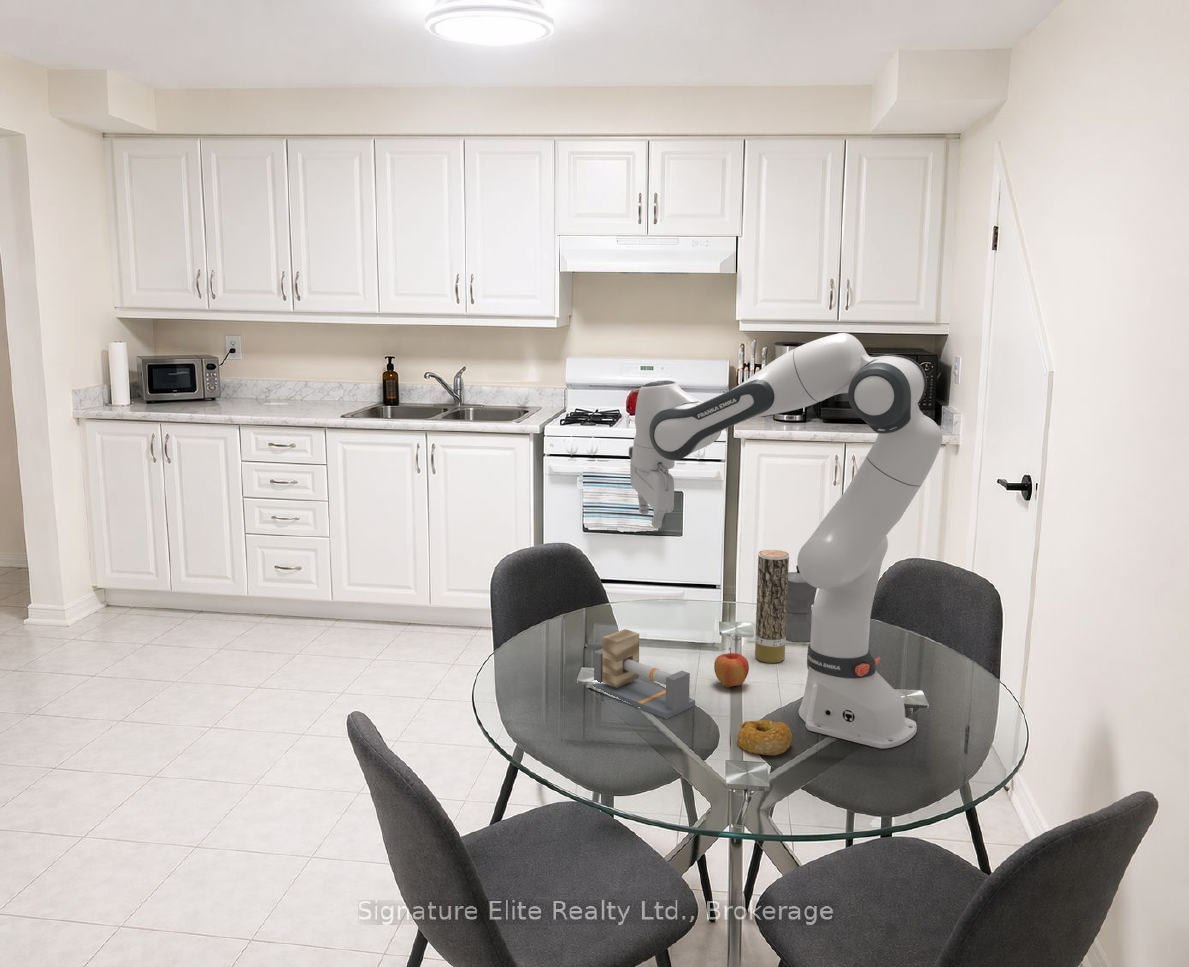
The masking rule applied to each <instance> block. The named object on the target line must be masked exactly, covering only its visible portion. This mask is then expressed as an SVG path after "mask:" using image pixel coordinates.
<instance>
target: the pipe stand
mask: <svg viewBox="0 0 1189 967" xmlns="http://www.w3.org/2000/svg"><path fill="white" fill-rule="evenodd" d="M623 670H626V671H629V672H632V673H634V674H637V675H639V677H640V676H641V677H643V678H645V679H648V680H650V681H653V682H656V683H660V684H662V685H665V688H663V687H660V686H658V685H655V684H652V683H649V682H647V681H645V680H641V679H640V678H638V679H636V680H634V681H631V682H629V683H626V684H624V685H622V686H619V687H617V688H616V687H613V686H611V685H608V684H592V685H593V686H594V687H596V688H598V689H601V690H603V691H604V692H606V693H608V694H610V695H613V696H615V697H618V698H619V699H621V700H623V701H626V702H628V703H630V704H632V705H633V706H632V705H631V706H632V707H634V706H635V707H634V708H637V707H640V708H641V709H640V710H642V709H643V710H642V711H644V710H645V711H644V712H646V713H650V714H652V715H655V716H657V717H660V718H663V719H666V720H668V719H670V718H673V717H674V716H677V715H679V714H681V713H684V712H685V711H687V710H689V709H691V708H693V707H696V700H695V699H693V698H691V697H690V687H691V684H690V683H691V682H690V681H691V680H690V678H691V676H690V675H691V673H690V672H689V671H688V672H687V671H685V670H679V671H677V672H675V673H670V672H667V671H664V670H661V669H659V668H657V667H652V666H650V665H646V664H644V663H641V662H639V663H638V662H636V661H633V660H630V659H627V658H626V659H623ZM602 677H603V648H601V649H597V650H595V651H593V680H597V681H598V682H600V683H601V682H602Z"/></svg>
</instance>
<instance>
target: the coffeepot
mask: <svg viewBox="0 0 1189 967" xmlns="http://www.w3.org/2000/svg"><path fill="white" fill-rule="evenodd" d="M817 589H818V588H815V587H813V586H811V585H810V584H808V583H807V582H806V581H805V580H804V579H803V577H802V576H801V574H800V572H799V569H798V564H797V565H796V571H788V592H787V617H786V641H789V642H795V643H805V642H806V643H807V642H810V638H811V617H812V607H813V604H814V602H815V600H816V596H817V595H816V594H817Z"/></svg>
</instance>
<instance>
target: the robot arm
mask: <svg viewBox="0 0 1189 967" xmlns="http://www.w3.org/2000/svg"><path fill="white" fill-rule="evenodd" d="M927 386H928V381H927V375H926V373H925V370H924V368H923V367H922V366H921V364H919V363H918V362H917V361H916V360H915V359H912V358H910V357H908V356H906V355H905V356H904V355H899V354H889V353H887V354H886V353H878V352H876V353H873V354H872V355H869V354H868V353H867V351H866V349H865V347H864V346H863V344H862V342H861V341H860V340H859V339H858V338H857V337H856V336H854V335H852V334H850V333H848V332H847V333H846V332H838V333H836V334H830V335H827V336H823V337H820V338H816V339H815V340H812V341H809V342H806V343H804V344H802V345H799V346H797V347H795V348H793V349H791V350H789V351H787V352H785V353H783V354H782V355H780V356H779V357H777V358H776V359H774V360H772V361H771V362H769V363H768V364H766V366H764V367H762V368H761V369H759V370H758V371H757V372H756V373H754V374H753V375H752V376H750V377H748V378H747V379H745V381H743V382H742V383H740V384H738V385H737V386H735V387H733V388H732V389H730V390H729V391H726V392H724V393H722V394H719V395H718V396H715V397H714V398H711V399H709V400H706V401H704V400H701V399H699V398H697V397H694V395H691V394H689V393H688V392H686V391H685V390H683V388H681V387H680V385H679V384H678V383H677V382H676V381H674V380H657V381H651V382H648V383H645V384H643V385H642V386H641V387H640V388H639V391H638V394H637V396H636V402H635V403H636V404H635V411H634V412H635V415H634V424H635V435H634V439H633V445H630V446H628V447H629V448H628V457H629V458H630V463H629V470H630V471H629V472H630V484H631V487H632V488H633V490H634V491H636V492H637V498H638V499H637V500H638V512H639V513H640V514H641V515H647V514H649V513H650V512H649V510H650V509H649V508H650V507H651V508H652V509H653V510H652V512H653V517H652V518H651V526H652V527H653V528H654V529H661V528H662V526H663V525H662V524H663V519H664V516H665V514H666V513H672V512H673V510H674V506H675V481H674V477H673V476H672V474H671V473H670V472H669V470H671V469H674V467H675V461H679V460H682V459H684V458H685V457H688V456H689V455H690V454H693V453H695V452H697V451H699V450H701V449H704V448H706V447H709V446H710V445H711V444H713V443H715V442H716V441H717V440H718V439H719V438H720V436H721V433H722V431H723V430H725V429H728V428H730V427H733V426H735V425H737V424H740V423H742V422H745V421H749V420H751V419H755V418H761V417H766V416H772V415H776V414H782V413H787V412H792V411H796V410H799V409H803V408H807V407H809V406H812V405H816V404H817V403H819V402H823V401H825V400H826V399H827V400H828V399H829V398H831V397H834V396H836V395H839V394H847V398H848V402H849V405H850V407H851V409H852V411H853V412H854V413H855V415H857V416H858V418H860V419H861V420H862V421H864V422H865V423H866V424H867V425H868V426H869V428H870V429H871V430H872V431H873V432H875V433H876V434H877V437H876V439H875V441H874V442H873V445H872V446H871V448H870V449H869V451H868V453H867V454H866V456H865V457H864V459H863V461H862V462H861V465H860V467H859V468H858V470H857V471H856V474H854V476H853V478H852V479H851V482H850V483H849V485H847V486H848V487H847V488H846V489H845V491H844V492H843V494H842V495H841V496H840V498H839V499H838V500H837V501H836V502H835V503H834V505H833V506H832V508H830V510H829V512H828V513H827V514H826V515H825V517H824V518H823V519H822V521H821V522H820V523H819V525H818V526H817V528H816V529H815V530H814V531H813V533H812V535H811V536H810V537H809V538H808V539H807V541H806V542H805V543H804V544H803V545H802V546H801V548H800V549H799V552H798V554H797V560H796V562H797V565H798V569H799V572H800V574H801V576H802V577H803V579H804V580H805V581H806V582H807V583H808V584H810V585H811V586H813V587H815V588H817V589H818V592H817V595H816V596H815V600H814V604H813V605H812V617H811V638H810V641H809V642H810V643H809V644H808V646H807V656H806V668H807V677H806V684H805V688H804V693H803V697H802V700H801V702H800V703H801V704H800V706H799V708H798V714H799V717H800V718H801V719H802V721H804V724H805V728H806V730H807V731H810V732H814V733H818V734H821V735H822V734H823V735H826V736H829V737H834V738H838V739H842V740H845V741H849V742H853V743H857V744H862V745H865V746H869V747H873V748H878V749H890V748H891V749H892V748H895V747H897V746H901V745H903V744H905V743H906V742H907V741H910V740H911V739H912V738H913V737H914V736H915V735H916V734H917V730H918V729H917V722H916V721H915V720H913V719H911V718H908V717H906V709H905V703H904V700H903V697H902V696H901V695H900V693H898V692H897V691H896V690H895V688H893V687H892V686H891V685H890V684H889V683H888V682H887V681H886V679H884V677H882V676H881V675H880V674H879V673H878V671H877V669H876V666H877V665H878V664H879V663H881V661H880V660H881V656H878V657H877V658H874V657H873V656H872V653H871V651H870V649H869V646H870V645H869V643H870V628H871V615H872V609H873V603H874V598H875V595H876V591H877V587H878V583H879V579H880V574H881V568H882V564H883V560H884V558H885V557H886V554H887V552H888V549H889V548H888V547H889V541H888V536H887V535H888V534H889V533H890V531H891V530H892V529H893V528H894V527H895V525H897V523H898V522H899V521H900V520H901V518H902V517H903V515H904V514H905V512H906V510H907V509H908V507H909V506H910V504H911V503H912V501H913V499H914V498H915V496H916V494H917V493H918V492H919V490H920V489H921V486H922V485H923V484H924V482H925V480H926V478H927V477H928V475H929V473H930V471H931V470H932V468H933V465H934V463H935V461H936V458H937V456H938V454H939V451H940V448H941V445H942V443H943V432H942V430H941V428H940V426H939V425H938V424H937V422H935V420H933V419H932V418H931V417H929V416H927V415H925V414H924V412H922V411H921V409H920V406H919V404H920V402H922V400H923V398H924V396H925V394H926V390H927Z"/></svg>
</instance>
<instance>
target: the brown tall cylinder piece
mask: <svg viewBox="0 0 1189 967" xmlns="http://www.w3.org/2000/svg"><path fill="white" fill-rule="evenodd" d="M789 555H790V554H789V553H788V552H787V551H783V550H778V549H765V550H764V549H763V550H759V551H758V558H757V579H756V580H757V584H756V585H757V586H756V608H755V609H756V612H755V614H756V615H755V616H756V617H755V636H754V637H755V638H754V639H755V640H754V641H755V645H754V648H755V649H754V657H755V658H756V659H757V660H758V661H759V662H762V663H767V664H777V663H781V662H783V661H784V660H785V656H786V641H787V640H786V617H787V592H788V572H789V565H790V563H789V562H790V556H789Z"/></svg>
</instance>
